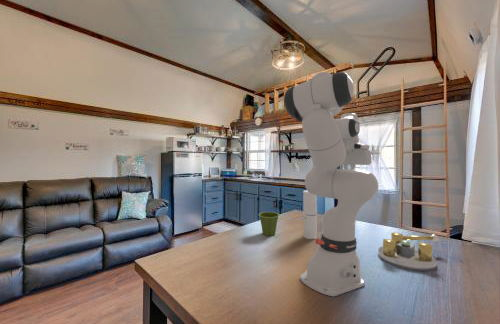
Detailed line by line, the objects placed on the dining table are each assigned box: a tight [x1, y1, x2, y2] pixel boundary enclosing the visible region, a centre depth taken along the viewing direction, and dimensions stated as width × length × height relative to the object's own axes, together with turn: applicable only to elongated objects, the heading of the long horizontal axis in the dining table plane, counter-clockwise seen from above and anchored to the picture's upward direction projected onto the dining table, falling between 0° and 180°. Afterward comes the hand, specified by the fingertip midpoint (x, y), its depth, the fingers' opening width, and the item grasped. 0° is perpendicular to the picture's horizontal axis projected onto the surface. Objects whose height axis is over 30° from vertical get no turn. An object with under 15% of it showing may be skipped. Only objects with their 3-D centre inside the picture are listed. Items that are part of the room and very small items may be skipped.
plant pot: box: [258, 211, 280, 237], centre depth 127 cm, size 12×12×11 cm
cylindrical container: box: [302, 189, 318, 240], centre depth 122 cm, size 7×7×25 cm
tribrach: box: [377, 238, 437, 272], centre depth 95 cm, size 20×20×8 cm
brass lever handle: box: [390, 232, 439, 248], centre depth 101 cm, size 20×4×6 cm, turn 88°
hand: (349, 173), depth 112 cm, fingers closed
